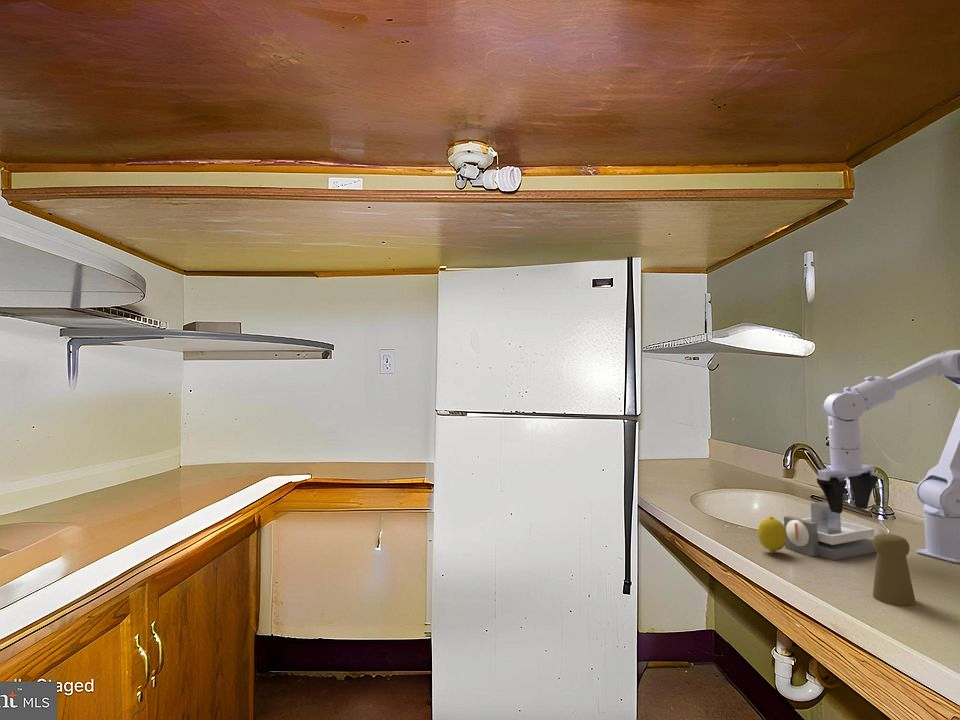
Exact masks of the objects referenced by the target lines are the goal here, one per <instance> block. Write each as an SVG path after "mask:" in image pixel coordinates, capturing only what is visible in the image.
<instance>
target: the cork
mask: <svg viewBox="0 0 960 720" xmlns="http://www.w3.org/2000/svg"><path fill="white" fill-rule="evenodd" d="M872 540H873V547H874V550H875V551H876V552H875V553H876V557H875V558H876V561H875V569H874V571H875V572H874V579H873V590H872V598H874V599H875V600H876V601H879V602H881V603H885V604H886V605H892V606H898V607H911V606H915V605H916V604H917V601H916V597H915V592H914V587H913V583H912V578H911V573H910V569H909V564H908V561H907V556H908V555H909V553H910V544H909V542H908V541H907V539H906V538H905V537H903V536H900V535H896V534H891V533H878V534H876V535H874V537H872Z"/></svg>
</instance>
